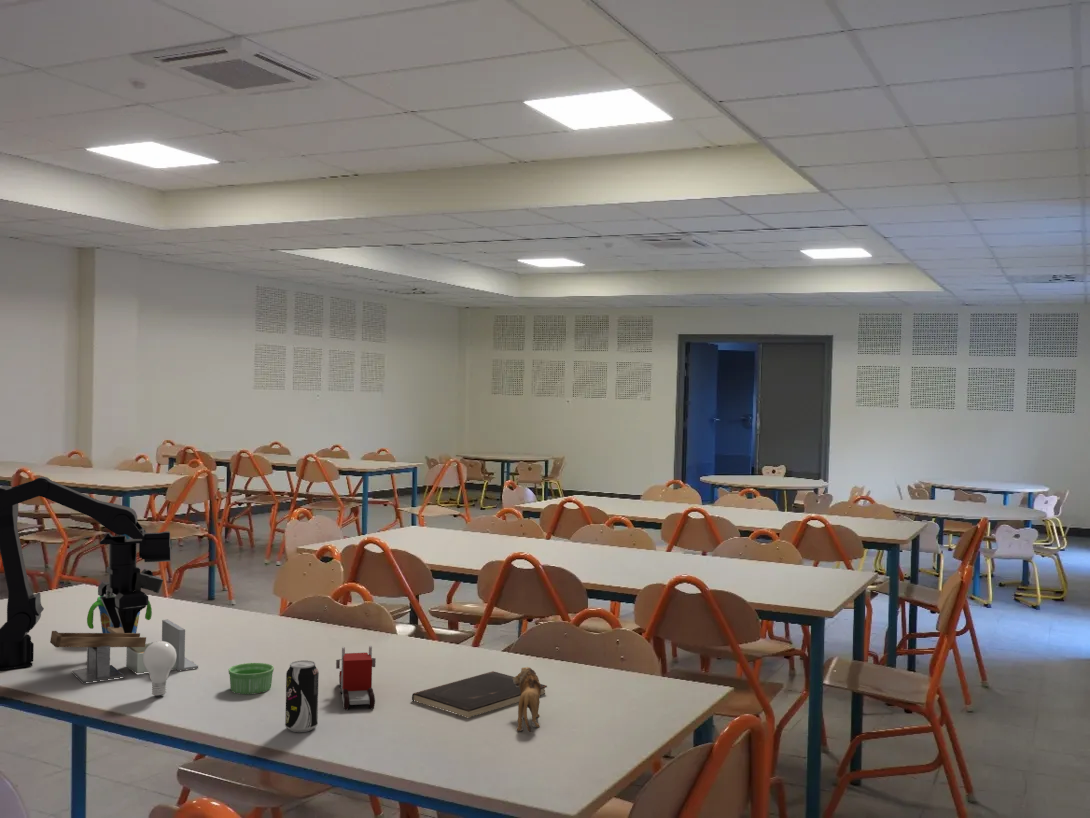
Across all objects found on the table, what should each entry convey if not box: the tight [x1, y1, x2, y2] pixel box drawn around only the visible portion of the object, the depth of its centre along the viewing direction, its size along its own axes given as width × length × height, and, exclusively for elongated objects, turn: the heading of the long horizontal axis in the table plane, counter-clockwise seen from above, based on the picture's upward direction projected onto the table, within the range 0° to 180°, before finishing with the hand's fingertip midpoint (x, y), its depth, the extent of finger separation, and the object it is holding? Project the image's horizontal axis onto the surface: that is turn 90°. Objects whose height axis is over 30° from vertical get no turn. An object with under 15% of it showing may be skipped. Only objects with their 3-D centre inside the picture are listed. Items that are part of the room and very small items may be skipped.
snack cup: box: [86, 596, 153, 633], centre depth 248 cm, size 16×10×10 cm
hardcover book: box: [411, 670, 548, 718], centre depth 206 cm, size 16×23×2 cm
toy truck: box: [335, 645, 376, 711], centre depth 205 cm, size 8×19×10 cm, turn 14°
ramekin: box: [228, 662, 275, 695], centre depth 208 cm, size 9×9×4 cm
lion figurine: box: [513, 666, 542, 733], centre depth 190 cm, size 15×5×9 cm, turn 6°
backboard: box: [161, 619, 199, 672], centre depth 226 cm, size 4×12×9 cm, turn 38°
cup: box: [125, 642, 176, 673], centre depth 222 cm, size 8×8×4 cm
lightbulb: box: [143, 640, 177, 697], centre depth 201 cm, size 6×6×11 cm
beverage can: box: [284, 660, 320, 733], centre depth 184 cm, size 6×6×12 cm
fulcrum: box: [71, 645, 125, 684], centre depth 215 cm, size 8×10×7 cm
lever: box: [49, 627, 147, 648], centre depth 220 cm, size 18×19×3 cm
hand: (122, 631), depth 228 cm, fingers open, 9 cm apart
